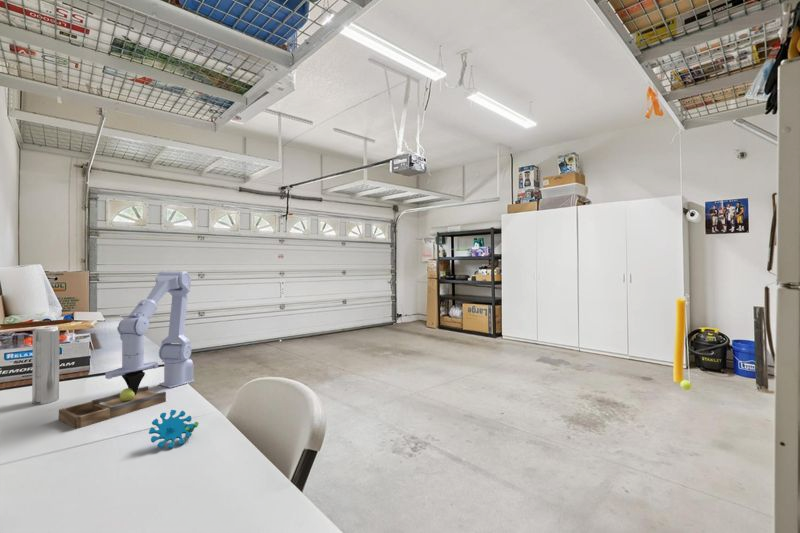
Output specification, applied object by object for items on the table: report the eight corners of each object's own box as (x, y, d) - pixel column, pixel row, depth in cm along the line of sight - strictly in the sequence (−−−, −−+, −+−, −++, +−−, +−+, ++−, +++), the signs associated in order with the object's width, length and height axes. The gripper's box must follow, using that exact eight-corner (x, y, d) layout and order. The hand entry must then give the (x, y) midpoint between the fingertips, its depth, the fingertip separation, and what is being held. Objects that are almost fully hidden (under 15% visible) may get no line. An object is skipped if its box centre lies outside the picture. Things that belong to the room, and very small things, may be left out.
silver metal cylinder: (27, 403, 121) (28, 328, 121) (52, 396, 127) (53, 325, 127) (38, 405, 118) (39, 329, 118) (63, 399, 124) (63, 326, 124)
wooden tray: (146, 395, 129) (146, 386, 129) (165, 401, 123) (165, 391, 123) (58, 419, 108) (58, 409, 108) (76, 428, 102) (76, 417, 102)
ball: (132, 386, 121) (118, 387, 118) (138, 388, 119) (124, 390, 116) (130, 398, 121) (116, 400, 117) (136, 401, 119) (122, 403, 115)
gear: (147, 449, 88) (151, 410, 94) (144, 459, 91) (148, 420, 97) (198, 442, 94) (199, 406, 101) (193, 452, 97) (195, 416, 104)
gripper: (150, 348, 128) (150, 386, 128) (100, 356, 115) (100, 399, 115) (161, 350, 124) (161, 389, 124) (111, 359, 112) (111, 403, 112)
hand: (132, 394), depth 119 cm, fingers closed, pressing on ball
